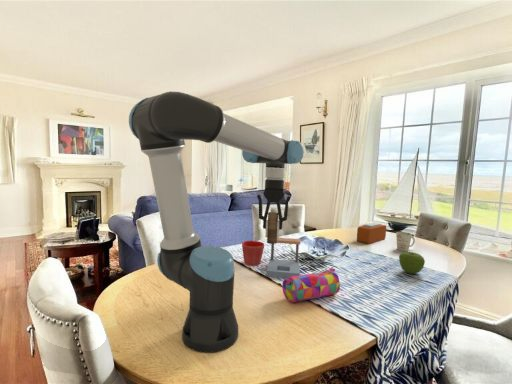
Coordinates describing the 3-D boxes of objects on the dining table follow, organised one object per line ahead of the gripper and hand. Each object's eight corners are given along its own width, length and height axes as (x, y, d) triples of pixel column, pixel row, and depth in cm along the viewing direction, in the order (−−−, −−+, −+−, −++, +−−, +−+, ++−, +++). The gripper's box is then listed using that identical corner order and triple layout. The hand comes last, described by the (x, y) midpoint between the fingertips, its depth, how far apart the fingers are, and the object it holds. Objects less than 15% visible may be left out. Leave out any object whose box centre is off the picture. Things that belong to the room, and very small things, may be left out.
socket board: (299, 279, 118) (301, 248, 117) (266, 276, 120) (267, 246, 119) (298, 266, 134) (300, 239, 133) (269, 263, 136) (270, 237, 135)
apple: (417, 279, 123) (419, 257, 122) (393, 271, 131) (395, 250, 130) (427, 273, 130) (429, 252, 129) (403, 267, 138) (405, 247, 137)
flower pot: (267, 265, 133) (268, 245, 133) (245, 267, 129) (246, 247, 128) (258, 258, 143) (259, 239, 142) (238, 260, 139) (239, 241, 138)
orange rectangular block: (373, 236, 201) (375, 221, 200) (385, 239, 194) (386, 223, 193) (356, 241, 185) (357, 224, 184) (368, 244, 179) (369, 227, 178)
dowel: (276, 244, 111) (277, 214, 110) (266, 243, 112) (267, 213, 111) (277, 241, 115) (278, 212, 114) (267, 240, 116) (268, 212, 115)
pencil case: (324, 286, 112) (325, 264, 112) (342, 296, 104) (343, 272, 103) (279, 297, 101) (280, 273, 101) (295, 309, 93) (297, 282, 92)
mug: (391, 248, 172) (393, 232, 172) (408, 247, 176) (409, 231, 175) (402, 252, 165) (404, 235, 164) (419, 250, 168) (420, 234, 167)
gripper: (296, 179, 114) (293, 236, 116) (254, 177, 116) (252, 233, 118) (296, 180, 106) (293, 240, 109) (252, 178, 109) (250, 237, 111)
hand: (272, 236), depth 113 cm, fingers closed on dowel, 4 cm apart
